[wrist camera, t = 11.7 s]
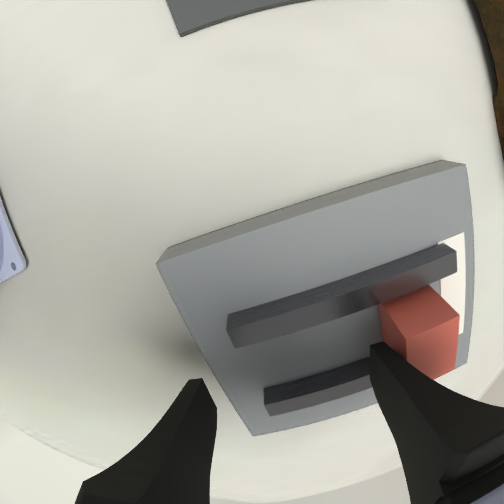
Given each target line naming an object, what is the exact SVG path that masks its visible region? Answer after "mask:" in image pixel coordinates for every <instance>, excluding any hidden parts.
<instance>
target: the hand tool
mask: <svg viewBox="0 0 504 504" xmlns="http://www.w3.org/2000/svg"><path fill="white" fill-rule="evenodd" d="M472 1H473V2H474V3H475V5H476V7H477V9H478V11H479V15H480V17H481V21H482V25H483V27H484V30H485V32H486V36H487V39H488V43H489V46H490V50H491V54H492V57H493V61H494V66H495V70H496V76H497V81H498V91H497V94H496V95H494V98H493V105H494V111H495V117H496V122H497V128H498V133H499V138H500V143H501V147H502V152H503V157H504V0H472Z"/></svg>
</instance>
